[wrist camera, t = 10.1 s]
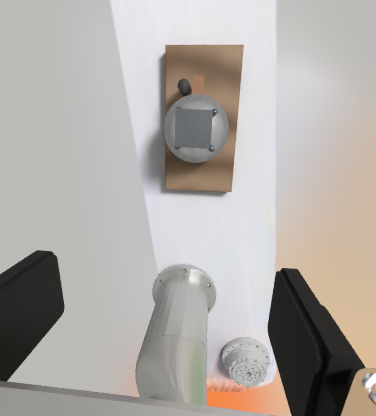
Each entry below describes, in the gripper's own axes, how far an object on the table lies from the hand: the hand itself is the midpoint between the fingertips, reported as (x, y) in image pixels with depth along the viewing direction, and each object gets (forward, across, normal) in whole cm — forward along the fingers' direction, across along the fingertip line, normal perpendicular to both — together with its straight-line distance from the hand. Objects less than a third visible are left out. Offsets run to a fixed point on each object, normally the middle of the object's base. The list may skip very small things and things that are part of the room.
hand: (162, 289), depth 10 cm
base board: (+32, 0, -8) cm, 33 cm away
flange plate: (+27, 0, -8) cm, 29 cm away
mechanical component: (+33, -12, +39) cm, 52 cm away
